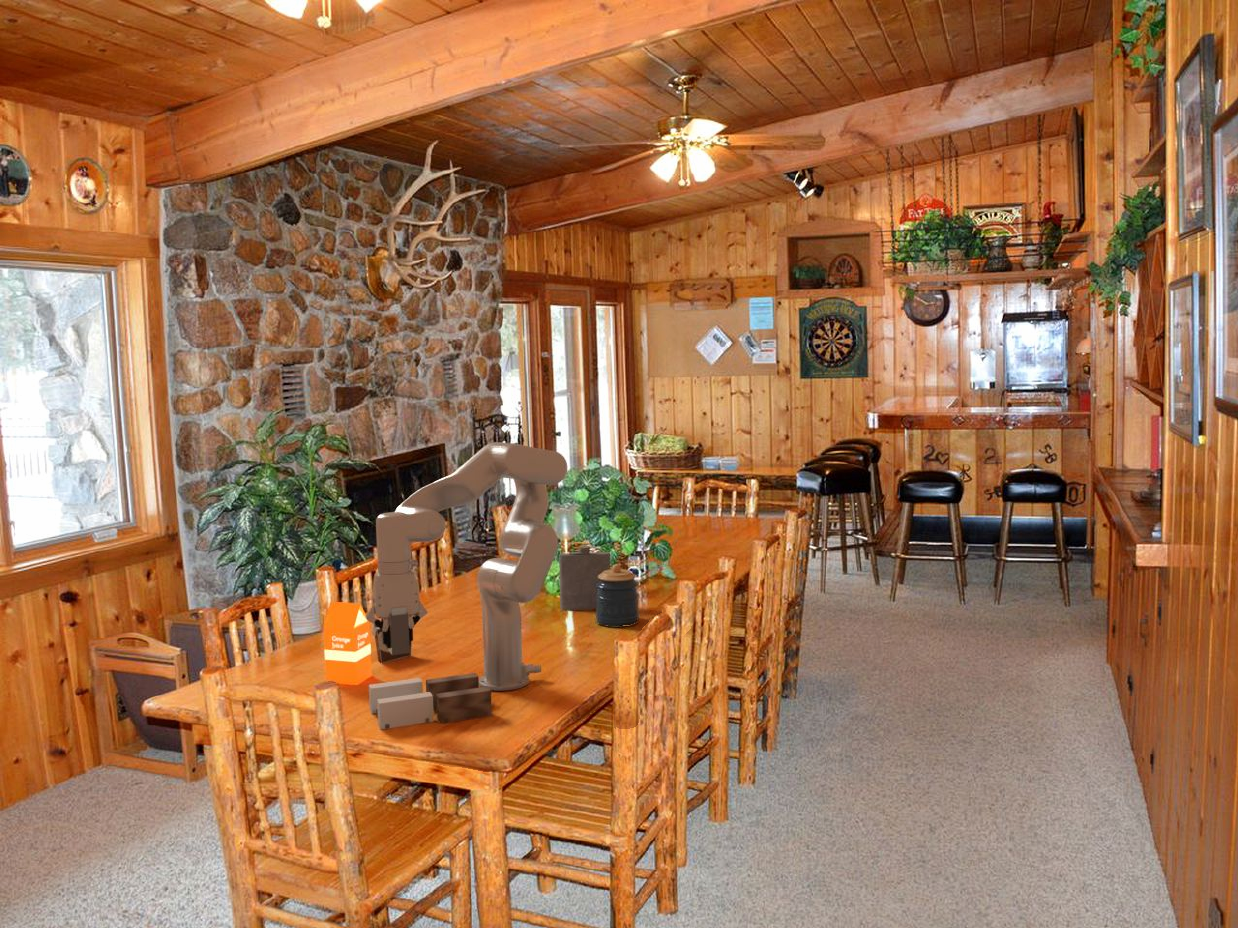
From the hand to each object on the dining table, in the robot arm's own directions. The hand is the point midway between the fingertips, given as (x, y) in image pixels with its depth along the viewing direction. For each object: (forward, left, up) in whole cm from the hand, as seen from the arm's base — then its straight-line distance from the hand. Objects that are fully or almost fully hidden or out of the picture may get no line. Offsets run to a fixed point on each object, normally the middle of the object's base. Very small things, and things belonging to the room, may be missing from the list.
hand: (398, 644), depth 251 cm
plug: (0, 0, -1) cm, 1 cm away
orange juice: (+7, -32, -17) cm, 37 cm away
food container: (-6, -46, -17) cm, 49 cm away
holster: (-13, +2, -17) cm, 21 cm away
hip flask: (-72, -71, -17) cm, 103 cm away
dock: (0, 0, -17) cm, 17 cm away
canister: (-75, -52, -17) cm, 93 cm away
